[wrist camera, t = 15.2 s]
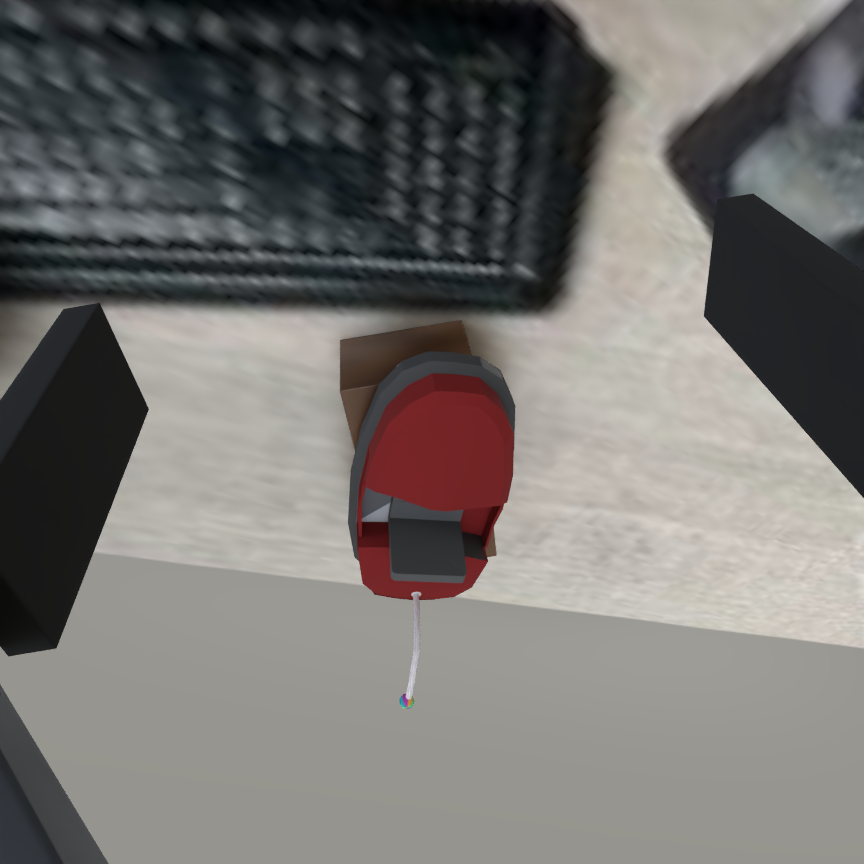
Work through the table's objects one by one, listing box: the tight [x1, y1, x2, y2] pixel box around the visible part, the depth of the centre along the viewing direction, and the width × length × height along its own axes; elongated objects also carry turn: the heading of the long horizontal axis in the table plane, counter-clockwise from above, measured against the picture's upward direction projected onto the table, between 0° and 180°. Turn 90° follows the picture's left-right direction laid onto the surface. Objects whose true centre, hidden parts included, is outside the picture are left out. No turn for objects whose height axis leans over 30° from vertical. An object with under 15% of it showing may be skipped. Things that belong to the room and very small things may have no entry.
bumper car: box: [348, 351, 515, 709], centre depth 42 cm, size 10×20×10 cm, turn 170°
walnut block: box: [340, 320, 496, 557], centre depth 48 cm, size 8×16×6 cm, turn 8°
